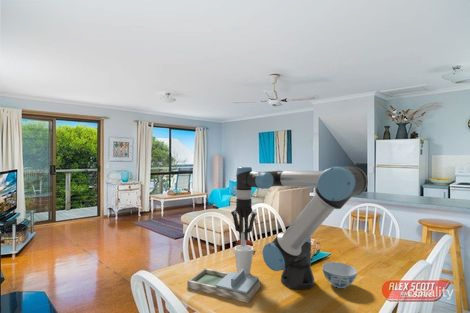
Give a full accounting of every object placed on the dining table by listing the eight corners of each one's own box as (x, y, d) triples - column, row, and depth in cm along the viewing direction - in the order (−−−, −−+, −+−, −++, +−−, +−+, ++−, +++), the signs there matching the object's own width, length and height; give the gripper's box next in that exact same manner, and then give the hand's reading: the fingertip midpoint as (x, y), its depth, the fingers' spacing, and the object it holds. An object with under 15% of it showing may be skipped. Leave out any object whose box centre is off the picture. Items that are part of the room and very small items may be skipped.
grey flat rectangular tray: (260, 286, 123) (260, 279, 123) (248, 302, 109) (248, 295, 109) (204, 274, 135) (204, 268, 135) (187, 287, 121) (187, 280, 121)
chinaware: (328, 275, 136) (329, 259, 135) (361, 284, 126) (361, 267, 126) (316, 286, 124) (317, 269, 124) (351, 297, 114) (351, 279, 114)
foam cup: (231, 271, 138) (231, 245, 138) (248, 268, 141) (248, 244, 141) (238, 279, 129) (238, 252, 129) (256, 276, 133) (256, 250, 132)
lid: (258, 278, 123) (258, 270, 123) (246, 294, 110) (246, 284, 110) (230, 273, 129) (230, 265, 129) (215, 286, 115) (215, 277, 115)
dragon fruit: (233, 253, 167) (251, 254, 171) (238, 249, 161) (257, 250, 165) (232, 240, 172) (249, 241, 176) (237, 235, 166) (255, 236, 170)
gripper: (259, 197, 135) (258, 245, 135) (234, 196, 140) (233, 241, 140) (254, 200, 128) (253, 250, 128) (228, 198, 133) (228, 246, 133)
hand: (243, 245), depth 134 cm, fingers closed
